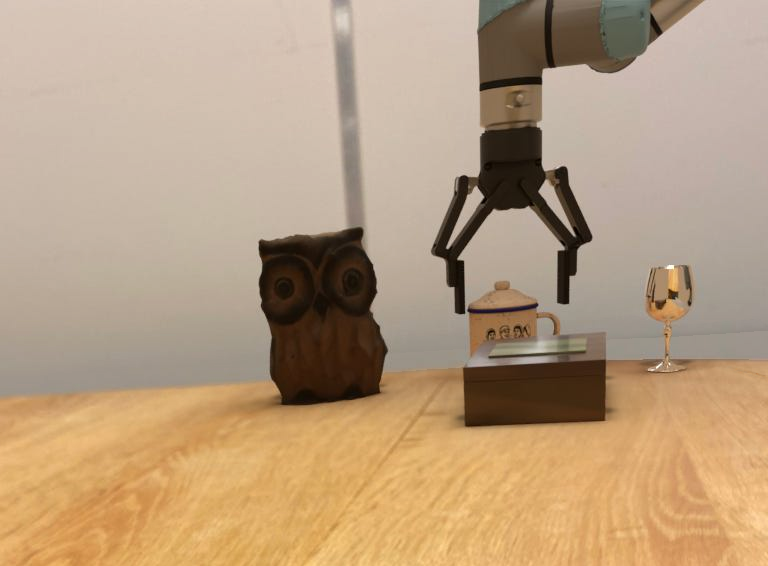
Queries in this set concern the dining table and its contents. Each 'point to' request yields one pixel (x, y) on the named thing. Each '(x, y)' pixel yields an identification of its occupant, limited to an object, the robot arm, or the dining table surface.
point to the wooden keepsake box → (536, 380)
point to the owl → (321, 317)
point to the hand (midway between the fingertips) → (511, 308)
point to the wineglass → (668, 302)
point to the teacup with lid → (504, 316)
